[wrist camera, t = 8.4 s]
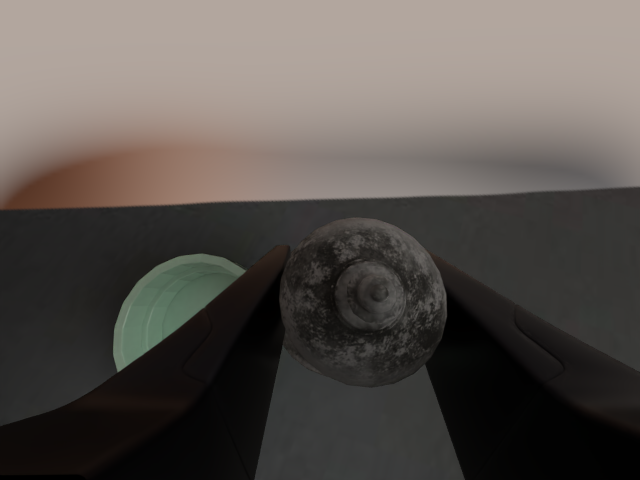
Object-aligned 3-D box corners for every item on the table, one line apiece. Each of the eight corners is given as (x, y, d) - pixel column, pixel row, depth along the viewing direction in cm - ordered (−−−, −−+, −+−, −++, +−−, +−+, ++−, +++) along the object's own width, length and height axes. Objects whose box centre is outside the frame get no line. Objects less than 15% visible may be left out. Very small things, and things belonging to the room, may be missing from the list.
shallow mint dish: (306, 330, 21) (301, 336, 17) (203, 427, 20) (173, 459, 16) (226, 237, 23) (205, 224, 19) (127, 321, 21) (83, 326, 17)
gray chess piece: (333, 226, 15) (353, -8, 4) (415, 297, 14) (785, 273, 3) (261, 304, 15) (-5, 310, 3) (343, 385, 14) (437, 893, 2)
